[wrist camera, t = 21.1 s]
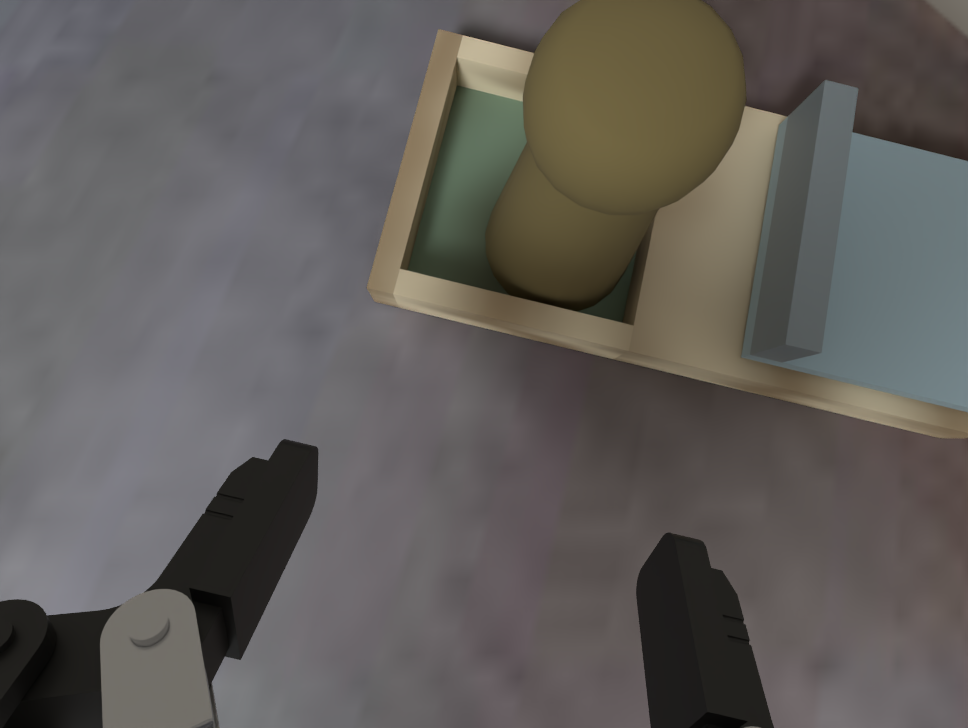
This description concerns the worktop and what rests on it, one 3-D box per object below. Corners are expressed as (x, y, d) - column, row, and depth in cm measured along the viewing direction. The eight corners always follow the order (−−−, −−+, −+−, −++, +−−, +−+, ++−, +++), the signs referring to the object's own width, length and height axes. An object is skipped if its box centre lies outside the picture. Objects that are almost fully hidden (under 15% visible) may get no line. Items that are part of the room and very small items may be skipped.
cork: (494, 164, 22) (532, -94, 12) (635, 186, 23) (802, -48, 12) (475, 302, 22) (495, 164, 11) (622, 324, 22) (788, 209, 11)
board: (965, 195, 24) (1011, 173, 22) (940, 438, 22) (988, 438, 20) (440, 64, 23) (438, 28, 21) (374, 301, 22) (366, 287, 20)
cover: (1019, 185, 21) (1099, 148, 19) (999, 419, 20) (1083, 416, 17) (778, 125, 21) (824, 79, 19) (740, 357, 20) (785, 344, 17)
